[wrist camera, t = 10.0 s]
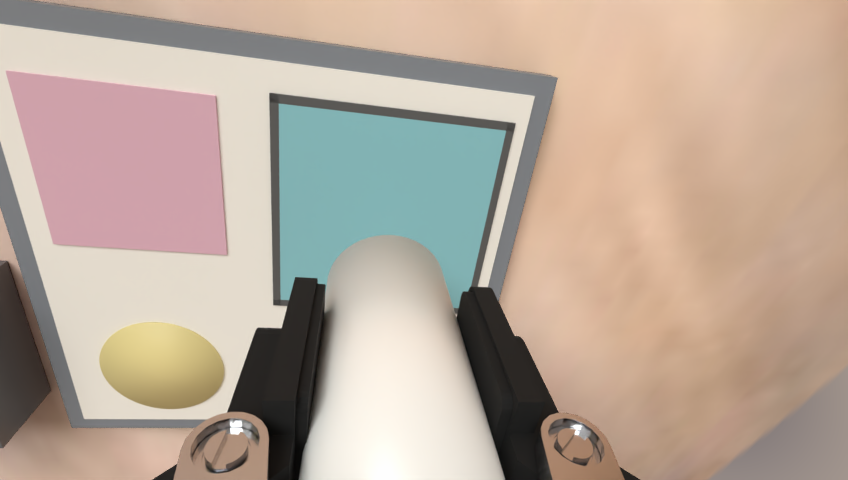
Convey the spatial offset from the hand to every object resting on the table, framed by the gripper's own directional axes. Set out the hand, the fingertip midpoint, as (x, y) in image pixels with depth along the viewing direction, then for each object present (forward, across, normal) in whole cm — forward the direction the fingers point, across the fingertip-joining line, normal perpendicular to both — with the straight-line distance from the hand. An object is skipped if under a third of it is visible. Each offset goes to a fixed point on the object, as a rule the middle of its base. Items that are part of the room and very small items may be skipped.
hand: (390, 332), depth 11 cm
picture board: (+7, +4, +3) cm, 9 cm away
